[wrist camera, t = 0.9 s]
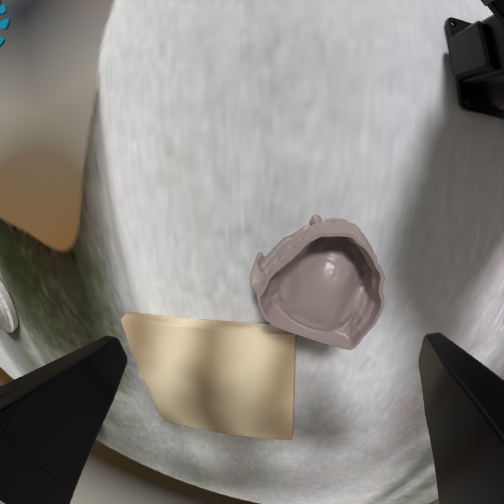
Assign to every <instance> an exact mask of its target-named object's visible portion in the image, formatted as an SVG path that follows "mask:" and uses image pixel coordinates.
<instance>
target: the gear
mask: <svg viewBox="0 0 504 504" xmlns="http://www.w3.org/2000/svg"><path fill="white" fill-rule="evenodd" d="M6 12H7V7H6V5H5V4H3V5H2V1H1V0H0V15H4V14H5V13H6ZM9 24H10V20H9V19H4V20H2V21H0V28H1V29H3V30H5V29H7V28H8V27H9ZM4 42H5V38H3V37H0V47H1V46H2V45H3V43H4Z"/></svg>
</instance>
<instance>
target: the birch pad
mask: <svg viewBox="0 0 504 504" xmlns="http://www.w3.org/2000/svg"><path fill="white" fill-rule="evenodd" d="M121 321H122V324H123V327H124V330H125V333H126V335H127V338H128V341H129V343H130V346H131V349H132V351H133V354H134V356H135V359H136V361H137V364H138V366H139V369H140V371H141V373H142V376H143V378H144V380H145V383H146V385H147V387H148V389H149V392H150V394H151V396H152V398H153V400H154V402H155V404H156V406H157V409H158V411H159V413H160V415H161V417H162V419H163V421H167V422H171V423H175V424H180V425H184V426H189V427H194V428H199V429H204V430H209V431H215V432H221V433H227V434H234V435H241V436H249V437H258V438H268V439H280V440H292V436H293V424H294V397H295V351H296V334H293V333H290V332H288V331H285V330H283V329H280V328H277V327H275V326H273V325H272V324H264V323H243V322H227V321H213V320H200V319H188V318H178V317H168V316H158V315H149V314H141V313H133V312H127V313H126V314H125V316H124V317H123V318H122V319H121Z"/></svg>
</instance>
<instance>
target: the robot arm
mask: <svg viewBox="0 0 504 504" xmlns="http://www.w3.org/2000/svg"><path fill="white" fill-rule="evenodd" d="M481 2H482V3H483V4H484V5H485V6H488V8H489V9H490V10H491V11H492V13H493V15H492V16H490V17H488V18H486V19H485V20H483V21H476V22H475V23H473V24H472V23H469V22H465V21H462V20H459V19H456V18H451V17H450V18H448V19H447V20H446V21H445V24H446V28H447V32H448V37H449V40H448V44H449V49H450V54H451V60H452V65H453V72H454V76H455V77H456V81H457V89H458V99H459V105H460V107H461V108H462V109H463V110H465V111H468V112H473V113H477V114H482V115H486V116H490V117H494V118H498V119H502V120H504V0H481ZM451 23H453V24H454V25H455V27H454V26H453V25H452V24H451ZM465 100H467V102H468V106H466V104H465ZM126 365H127V355H126V353H125V351H124V349H123V347H122V345H121V343H120V341H119V339H118V338H117V337H114V336H105V337H103V338H101V339H99V340H96V341H94V342H92V343H90V344H88V345H86V346H84V347H82V348H80V349H78V350H76V351H74V352H72V353H70V354H67V355H65V356H63V357H61V358H59V359H57V360H55V361H53V362H51V363H49V364H47V365H45V366H42V367H40V368H38V369H36V370H34V371H32V372H30V373H28V374H26V375H23V377H19V378H17V379H15V380H13V381H11V382H8V383H6V384H4V385H2V386H0V504H70V502H71V499H72V497H73V493H74V491H75V488H76V486H77V483H78V480H79V478H80V476H81V473H82V470H83V468H84V466H85V463H86V461H87V458H88V456H89V454H90V451H91V449H92V447H93V444H94V442H95V440H96V438H97V435H98V433H99V431H100V428H101V426H102V424H103V422H104V420H105V417H106V415H107V413H108V411H109V409H110V407H111V404H112V402H113V400H114V397H115V395H116V392H117V389H118V386H119V384H120V381H121V378H122V375H123V373H124V370H125V367H126ZM419 370H420V376H421V384H422V391H423V400H424V408H425V416H426V421H427V426H428V431H429V436H430V441H431V447H432V452H433V458H434V465H435V472H436V479H437V488H438V497H439V504H504V380H503V379H502V378H500V377H499V376H498V375H496V374H495V373H494V372H492V371H491V370H490V369H489V368H487V367H486V366H485V365H483V364H482V363H481V362H479V361H478V360H477V359H475V358H474V357H473V356H471V355H470V354H469V353H467V352H466V351H464V350H463V349H462V348H460V347H459V346H458V345H456V344H455V343H454V342H452V341H451V340H449V339H448V338H447V337H445V336H444V335H442V334H441V333H431V334H426V335H425V337H424V339H423V343H422V348H421V352H420V356H419Z"/></svg>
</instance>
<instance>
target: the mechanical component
mask: <svg viewBox="0 0 504 504" xmlns="http://www.w3.org/2000/svg"><path fill="white" fill-rule="evenodd" d="M17 327H18V318H17V314H16V310H15V308H14V305H13V302H12V300H11V298H10V296H9V294H8V292H7V290H6V288H5V287H4V285H3V284H2V282H1V281H0V331H1V330H2V329H4V330H5V331H7V332H9V333H11V332H13V331H14V330H15V329H16V328H17Z"/></svg>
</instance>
